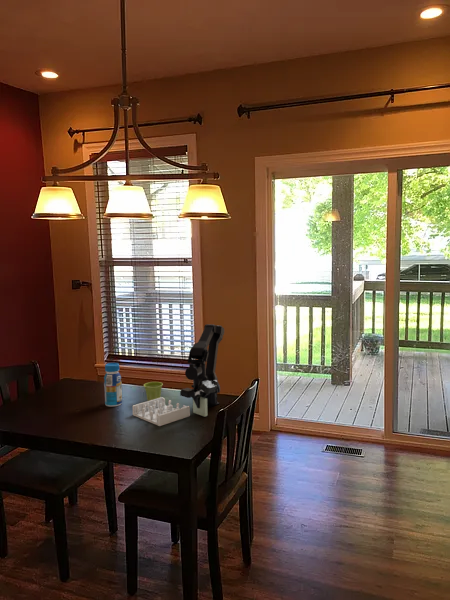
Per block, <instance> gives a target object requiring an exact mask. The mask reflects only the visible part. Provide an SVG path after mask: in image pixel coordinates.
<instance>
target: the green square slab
mask: <svg viewBox="0 0 450 600" xmlns="http://www.w3.org/2000/svg"><path fill="white" fill-rule="evenodd" d="M192 413H193V414H196V415H198V416H202V417H208V406H207V398H204V397H200V408H197V406H196V404H195V402H194V400H193V399H192Z"/></svg>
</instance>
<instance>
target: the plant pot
mask: <svg viewBox="0 0 450 600" xmlns="http://www.w3.org/2000/svg"><path fill="white" fill-rule="evenodd" d="M163 385H164V384H163V382H159V381H150V382H146V383H144V384H143V387H144V389H145V394H146V400H147V401H150V400H154V399H157V398H161V397H162V396H161V395H162V388H163Z"/></svg>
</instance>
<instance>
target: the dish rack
mask: <svg viewBox="0 0 450 600" xmlns="http://www.w3.org/2000/svg"><path fill="white" fill-rule="evenodd" d="M190 409H191V408H190V405H186V404H185V405H184V404H183V405H182V407H181V408H180V403H179V402H177V403H176V408H175V407H173V404H172V400H171V399H169V400H168V405H166V398H164V397H163V396H161V397H160V398H157V399H154V400H150V401H148V400H147V401H144V402H140V403H137V404H134V405H132V416H134V417H137V418H139V419H141V420H144V421H145V422H149V423H151V424H153V425H156V426H158V427H161V426H164V425H167V424H171V423H173V422H176V421H179V420H182V419H185V418H189V417H190V416H191V410H190Z"/></svg>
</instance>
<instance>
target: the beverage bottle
mask: <svg viewBox="0 0 450 600" xmlns="http://www.w3.org/2000/svg"><path fill="white" fill-rule="evenodd" d="M104 371H105V375H104V376H103V379H104V381H103V386H104V404H105V406H106V407H111V408H112V407H119V406H121V405H122V404H123V394H122V393H123V392H122V389H123V388H122V384H123V383H122V380H121V379H122V376H121V373H120V372H119V371H120V364H119V362H108V363H106V364H105V365H104Z"/></svg>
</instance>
